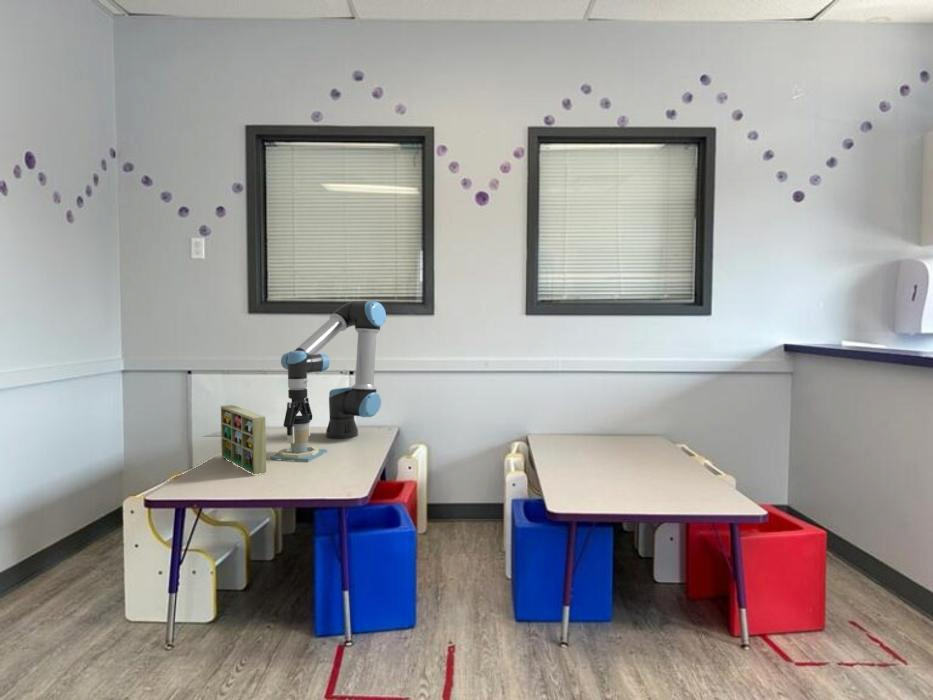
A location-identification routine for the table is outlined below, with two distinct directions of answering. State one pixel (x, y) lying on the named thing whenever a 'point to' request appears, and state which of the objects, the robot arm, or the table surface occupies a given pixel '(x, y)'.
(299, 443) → the coffee cup
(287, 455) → the ring mat
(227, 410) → the beige cubby shelf
